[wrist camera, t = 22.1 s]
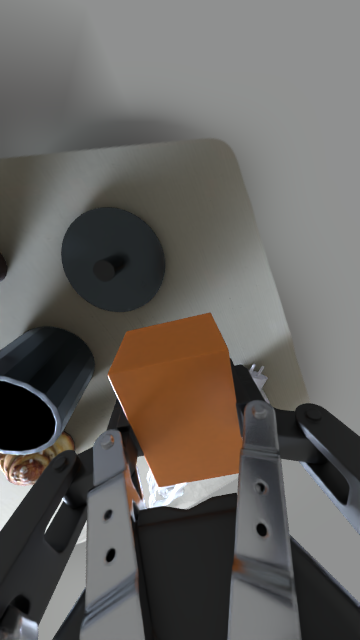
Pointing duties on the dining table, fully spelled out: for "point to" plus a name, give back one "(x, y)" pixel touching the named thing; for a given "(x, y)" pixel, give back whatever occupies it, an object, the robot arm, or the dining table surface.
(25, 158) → the dining table surface
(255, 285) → the dining table surface
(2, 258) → the coffee mug
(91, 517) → the robot arm
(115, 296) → the bin lid
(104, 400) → the dining table surface
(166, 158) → the dining table surface
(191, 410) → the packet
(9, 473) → the pastry
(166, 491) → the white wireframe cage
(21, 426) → the trash can
